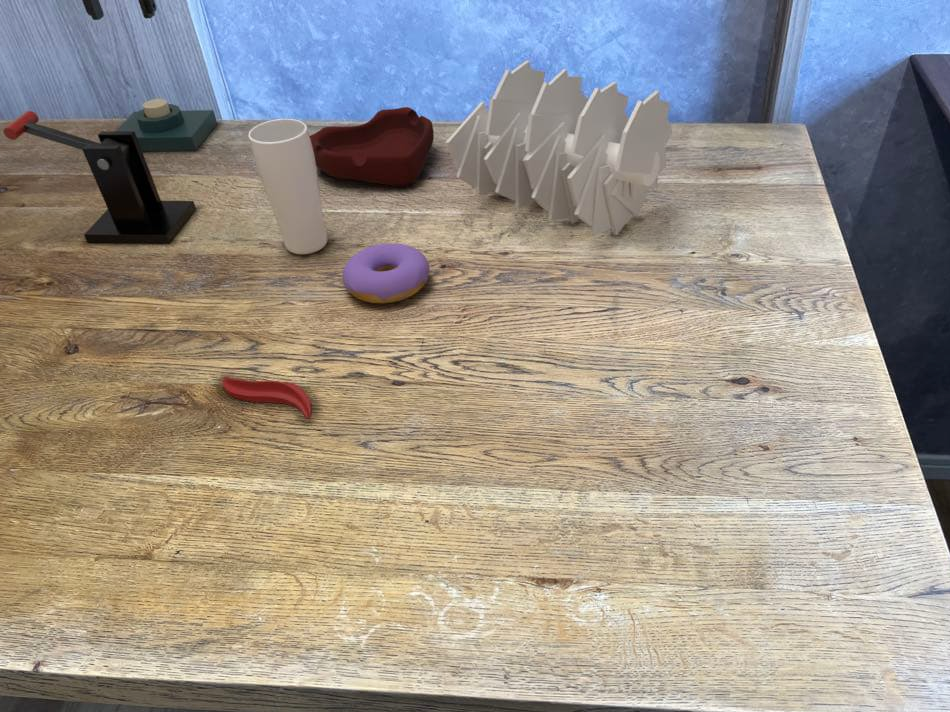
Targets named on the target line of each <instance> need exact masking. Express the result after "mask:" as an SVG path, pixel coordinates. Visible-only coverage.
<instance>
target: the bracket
mask: <svg viewBox="0 0 950 712" xmlns="http://www.w3.org/2000/svg"><path fill="white" fill-rule="evenodd" d="M97 137H98V139H99V143H102V142H103V141H104V140H105V139H106V138H108V139H111V140H115V141H118V142H121V143H124V144H128V145H129V155H130V162H129V163H128V164H127V162H126V159H125V157H124V154H123V152H122V149H121V147H120V146H85V147H84V148H83V149H82V150H81V151H82V152H83V155H84V157H85V159H86V162H87V164H88V167H89V168H90V171H91V173H92V175H93V178H94V180H95V182H96V186H97V187H98V190H99V191H100V193H101V197H102V199H103V201H104V203H105V206H106V208H107V209H106V210H105V211H104V212H103V213H102V214H101V215H100V217H99V218H98V219H97V220H96V221H95V222H94V223H93V224H92V225H91V226H90V227H89V229H87V230H86V232H84V234H83V236H84V238H85V240H86V243H89V244H91V243H92V244H93V243H95V244H170V243H171V242H172V241H173V239H174V238H175V237H176V235H177V234H178V233H179V232H180V231H181V229H182V228H183V227H184V225H185V224H186V222H188V220H189V219H190V217H191V216H192V215H193V214H194V212H195V211H196V210H197V207H196V204H195V202H194V200H162V199H161V196H160V194H159V192H158V190H157V189H158V188H157V186H156V184H155V181H154V178H153V176H152V173H151V171H150V168H149V166H148V165H149V164H148V162H147V160H146V157H145V154H144V151H142V149H141V147H140V144H139V142H138V139H137V136H136V134H135V131H116V130H114V131H108V130H106V131H100V132H99V133H97Z"/></svg>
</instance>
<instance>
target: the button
mask: <svg viewBox="0 0 950 712" xmlns="http://www.w3.org/2000/svg"><path fill="white" fill-rule="evenodd" d="M168 104H169V103H168V101H167V99H163V98H155V99H150V100H147V101H145V102H144V103H143V104H142V109H144V112H145V114H146V117H147V118H159V117H163V116H166V115H168V114H170V113H171V112H170V109H169V106H168Z"/></svg>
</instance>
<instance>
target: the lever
mask: <svg viewBox="0 0 950 712" xmlns="http://www.w3.org/2000/svg"><path fill="white" fill-rule="evenodd" d="M38 122H39V116H38V114H37V113H35V112H34V111H32V110H27V111H25V112H24V113H23V114H21V115H20V116H19V117H17V118H16V119H14V120H13V121H12V122H10V124H8V125H7V126H6V127H4V128H3V134H4V136H5V137H6V138H7V139H9V140H11V141H16V140H17V139H19V138H20V137H21V136H22V135H23V134H25V133H26V134H29V135H32V136H35V137H40V138H42V139H44V140H45V139H46V140H48V141H51V142H55V143H59V144H61V145H64V146H68V147H72V148H74V149H77V150H81V151H83V150H82V149H83V148H84V147H85V146H120V147H121V149H122V152H123V154H124V157H125V159H126V162H127V164H128V163H129V162H130V155H129V145H128V144H124V143H121V142H118V141H115V140H111V139H108V138H106V139H105V140H104V141H103V142H102V143H101V142H97V141H95V140H94V141H93V140H91V139H87V138H83V137H80V136H77V135H74V134H72V133H71V134H70V133H68V132H64V131H62V130H58V129H55V128H51V127H49V126H45V125H43V124H38Z"/></svg>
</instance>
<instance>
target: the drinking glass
mask: <svg viewBox="0 0 950 712" xmlns="http://www.w3.org/2000/svg"><path fill="white" fill-rule="evenodd" d="M247 137H248V141H249V146H250V150H251V154H252V158H253V161H254V165H255V167H256V171H257V174H258V176H259V179H260V182H261V184H262V187H263V189H264V192H265V195H266V197H267V200H268V202H269V204H270V208H271V211H272V213H273V216H274V219H275V221H276V223H277V226H278V228H279V229H278V230H279V231H280V234H281V238H282V241H283V244H284V247H285V249H286V250H287V251H288V252H290V253H292V254H295V255H310V254H313V253H317V252H318V251H320V250H322V249H323V248H325V246H326V245H327V243H328V239H329V238H328V232H327V229H326V223H325V217H324V209H323V203H322V197H321V189H320V182H319V176H318V175H319V173H318V167H317V166H316V161H315V155H314V151H313V146H312V143H311V139H310V132H309V128H308V125H307V124H306V122H303V121H302V120H298V119H293V118H278V119H271V120H267V121H264V122H261V123H259V124H256V125H255V126H254V127H252V128H251V129H250V130H249V132H248V135H247Z"/></svg>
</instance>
